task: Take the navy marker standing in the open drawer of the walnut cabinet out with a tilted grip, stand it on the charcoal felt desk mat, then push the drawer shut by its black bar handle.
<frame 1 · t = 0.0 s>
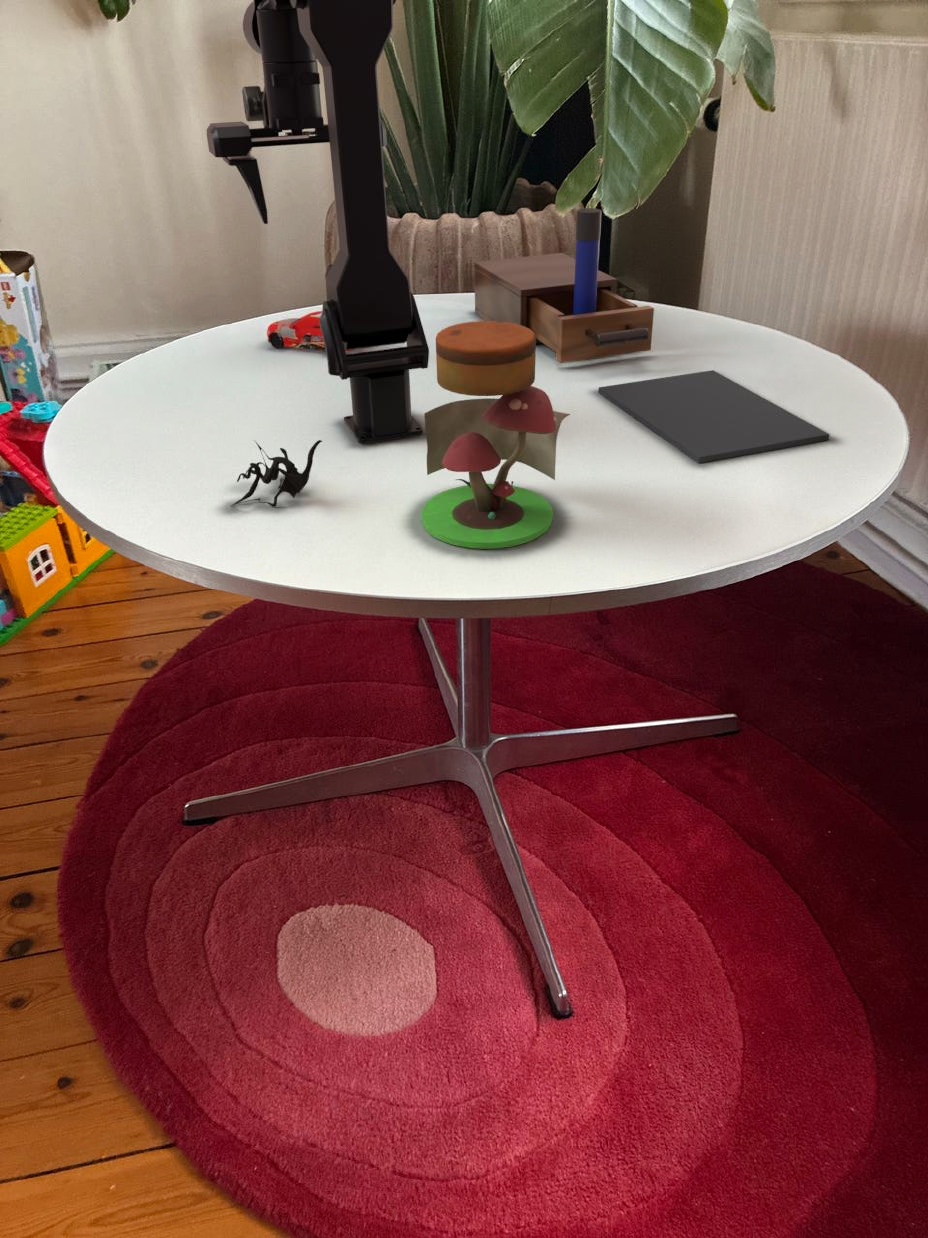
hand: (305, 219, 110), 15 cm above the table, tool pointing down, fingers open, 9 cm apart
creature: (273, 497, 83), on the table
mushroom figurine: (493, 519, 79), on the table
marker: (583, 332, 114), point 2 cm above the table, touching drawer
cabinet: (541, 322, 125), on the table
desk mat: (706, 414, 97), on the table
race car: (317, 348, 119), on the table
drawer: (586, 322, 113), point 3 cm above the table, slide at 9.0 cm, touching marker
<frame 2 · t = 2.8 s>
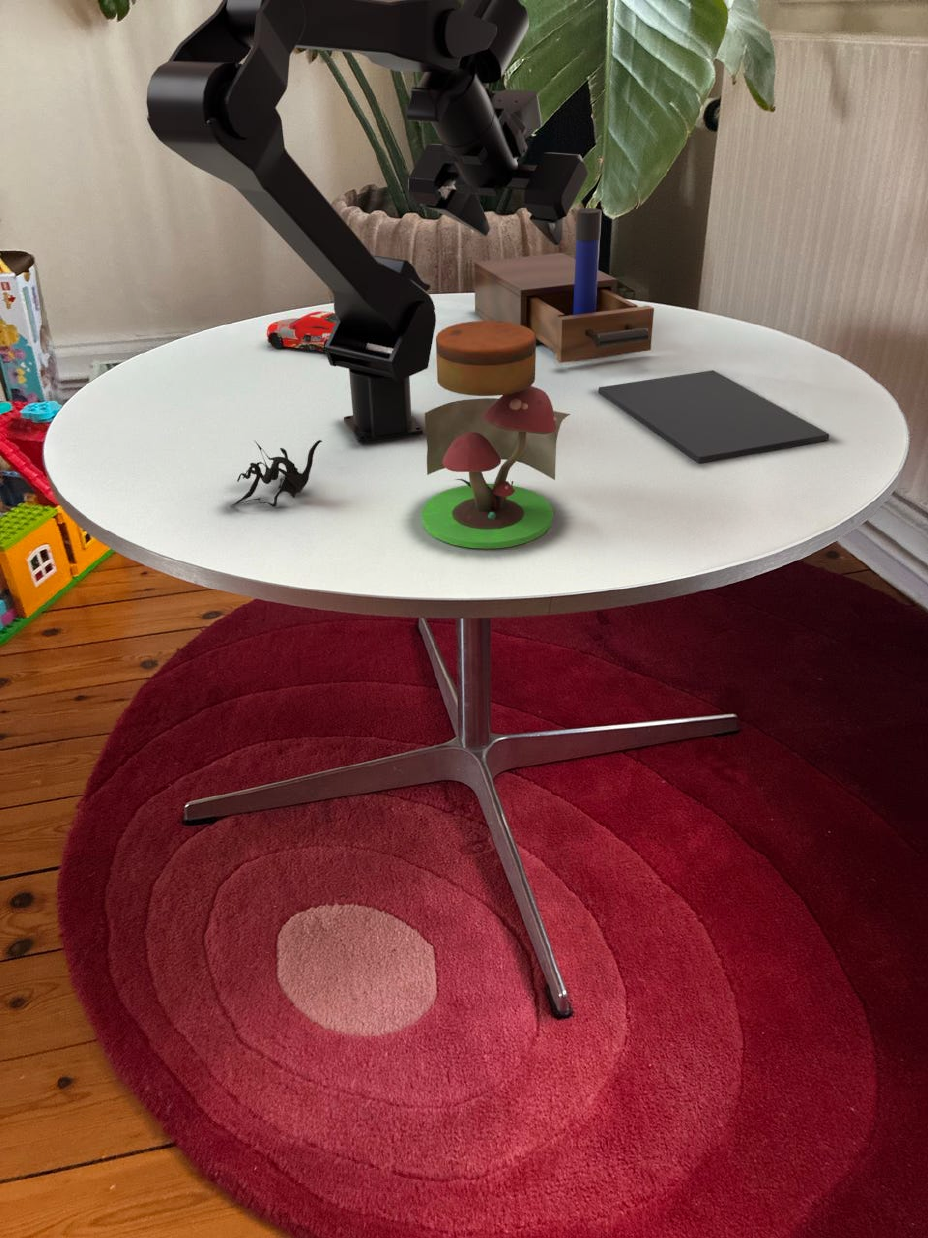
hand: (522, 236, 105), 14 cm above the table, tool tilted 40°, fingers open, 9 cm apart
nothing on the table moved.
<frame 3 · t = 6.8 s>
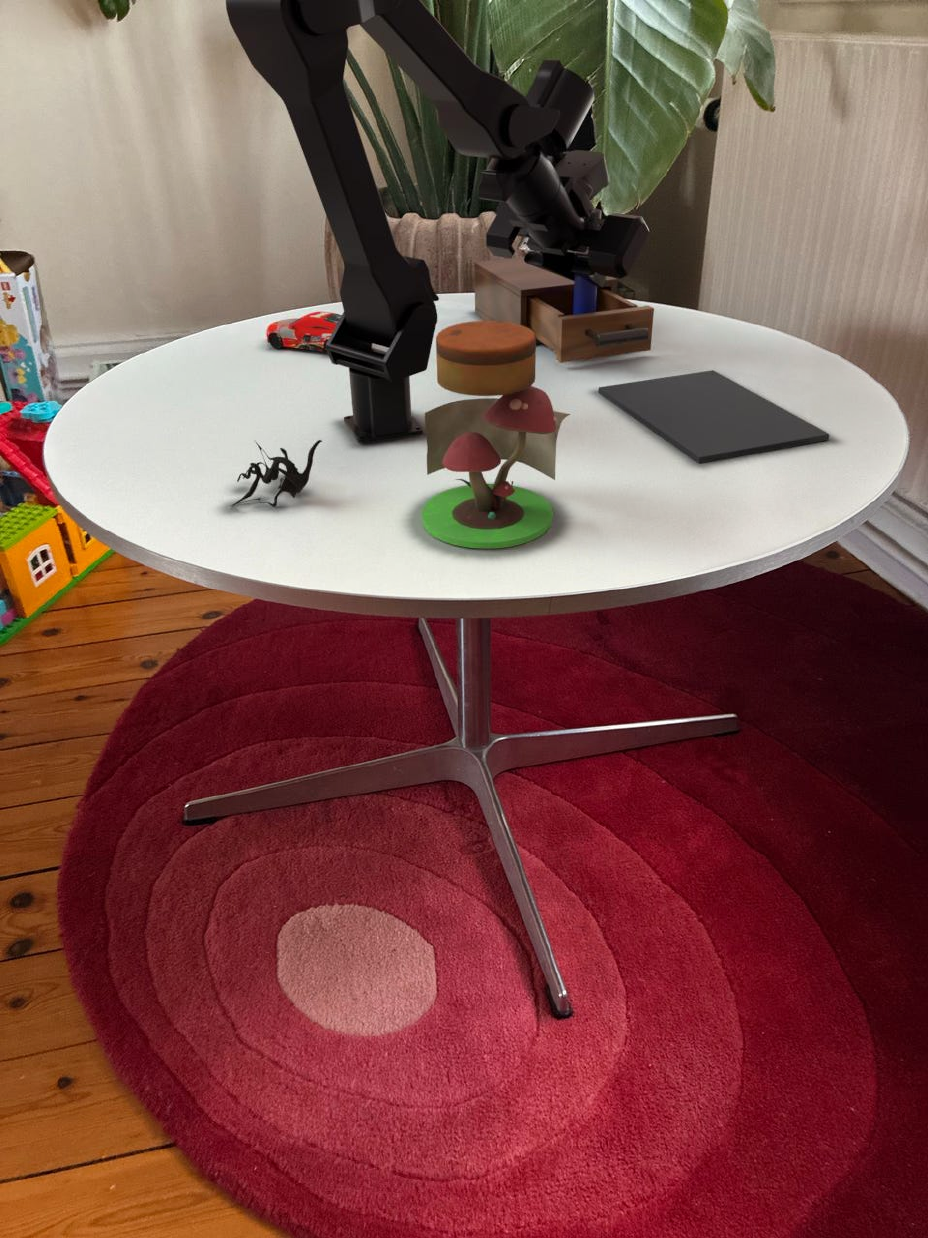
hand: (592, 281, 112), 8 cm above the table, tool tilted 45°, fingers closed on marker, 2 cm apart
marker: (583, 332, 115), point 2 cm above the table, touching drawer, gripper
everything else where it was.
when the fingers open (6 cm above the table, at t = 14.9 s): marker stays where it is, resting on desk mat.
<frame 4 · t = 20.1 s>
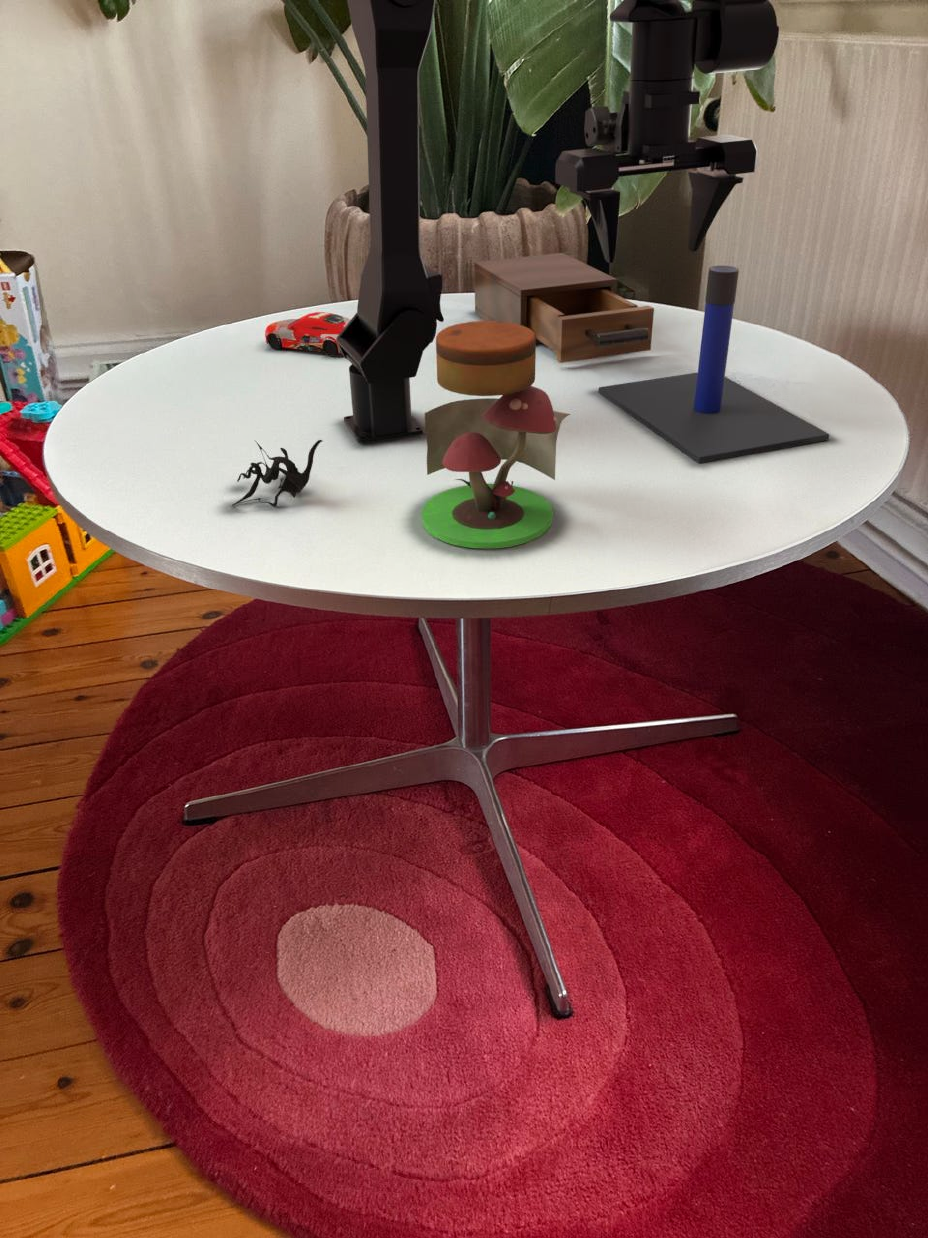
hand: (651, 256, 97), 13 cm above the table, tool pointing down, fingers open, 9 cm apart
marker: (707, 408, 97), point 1 cm above the table, touching desk mat
drawer: (586, 322, 113), point 3 cm above the table, slide at 9.0 cm
everything else where it was.
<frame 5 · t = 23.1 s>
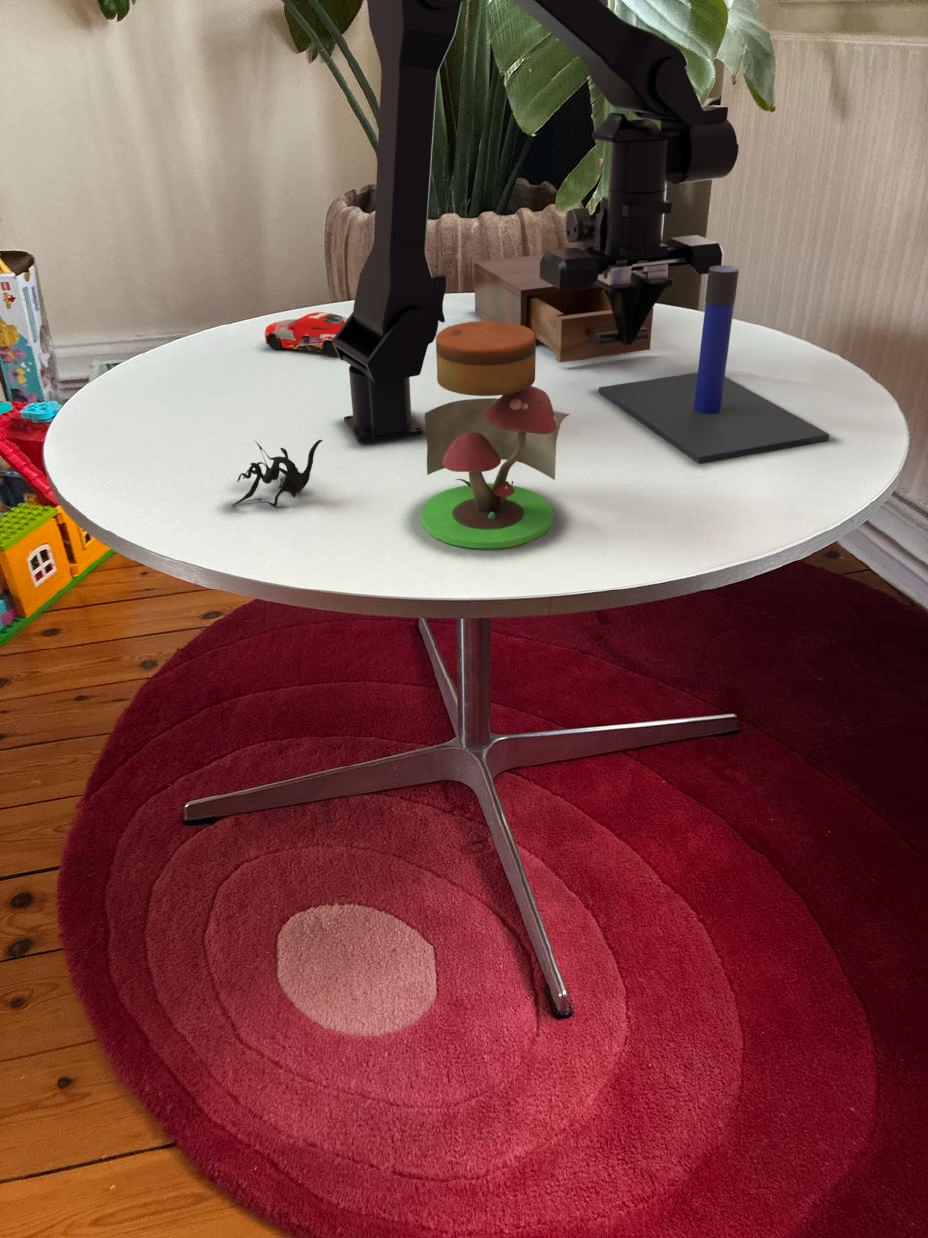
hand: (626, 343, 105), 4 cm above the table, tool pointing down, fingers closed, pressing on drawer
drawer: (586, 322, 113), point 3 cm above the table, slide at 8.8 cm, touching gripper
everything else where it was.
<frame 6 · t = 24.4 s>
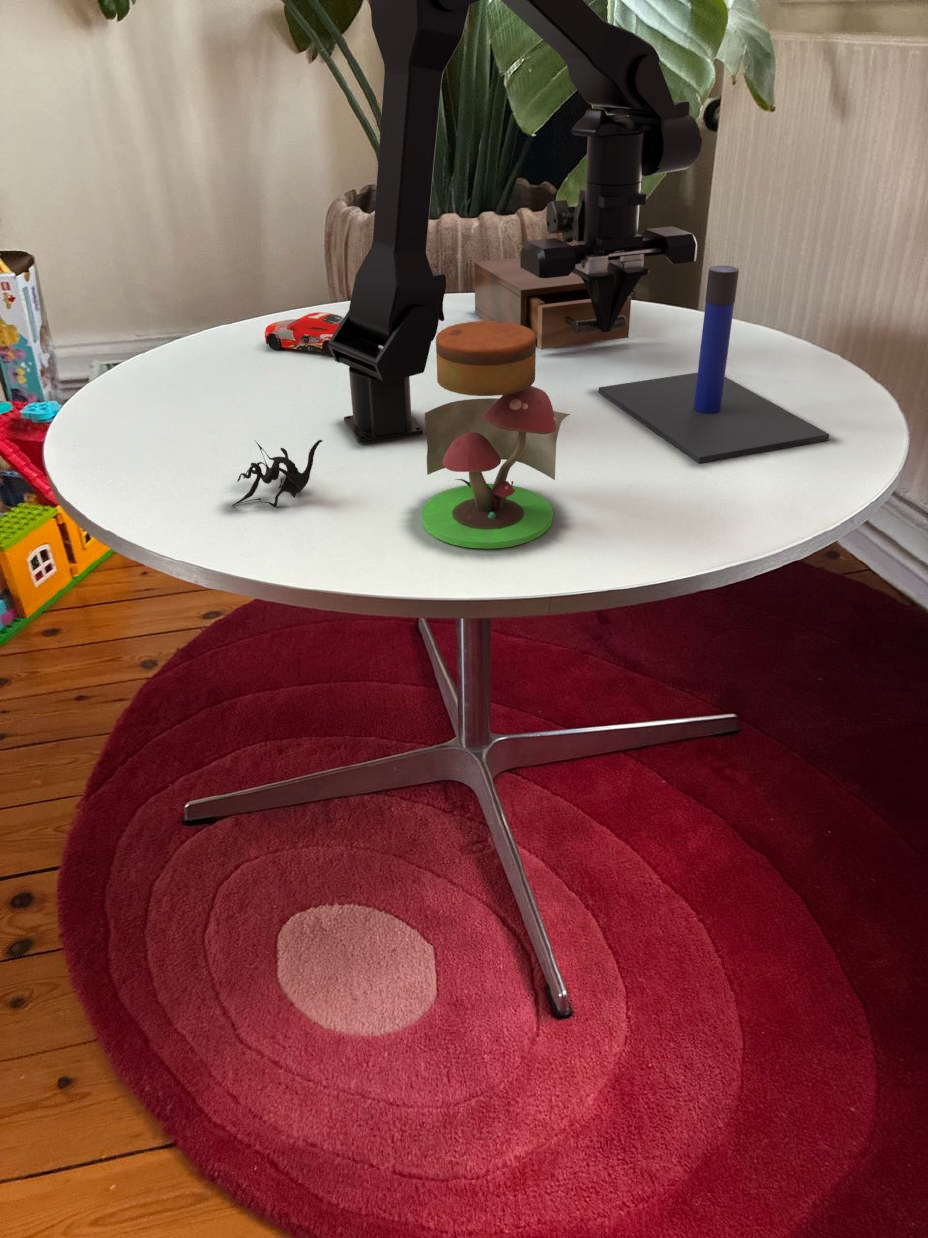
hand: (604, 331, 110), 4 cm above the table, tool pointing down, fingers closed, pressing on drawer
drawer: (567, 311, 117), point 3 cm above the table, slide at 3.7 cm, touching gripper
everything else where it was.
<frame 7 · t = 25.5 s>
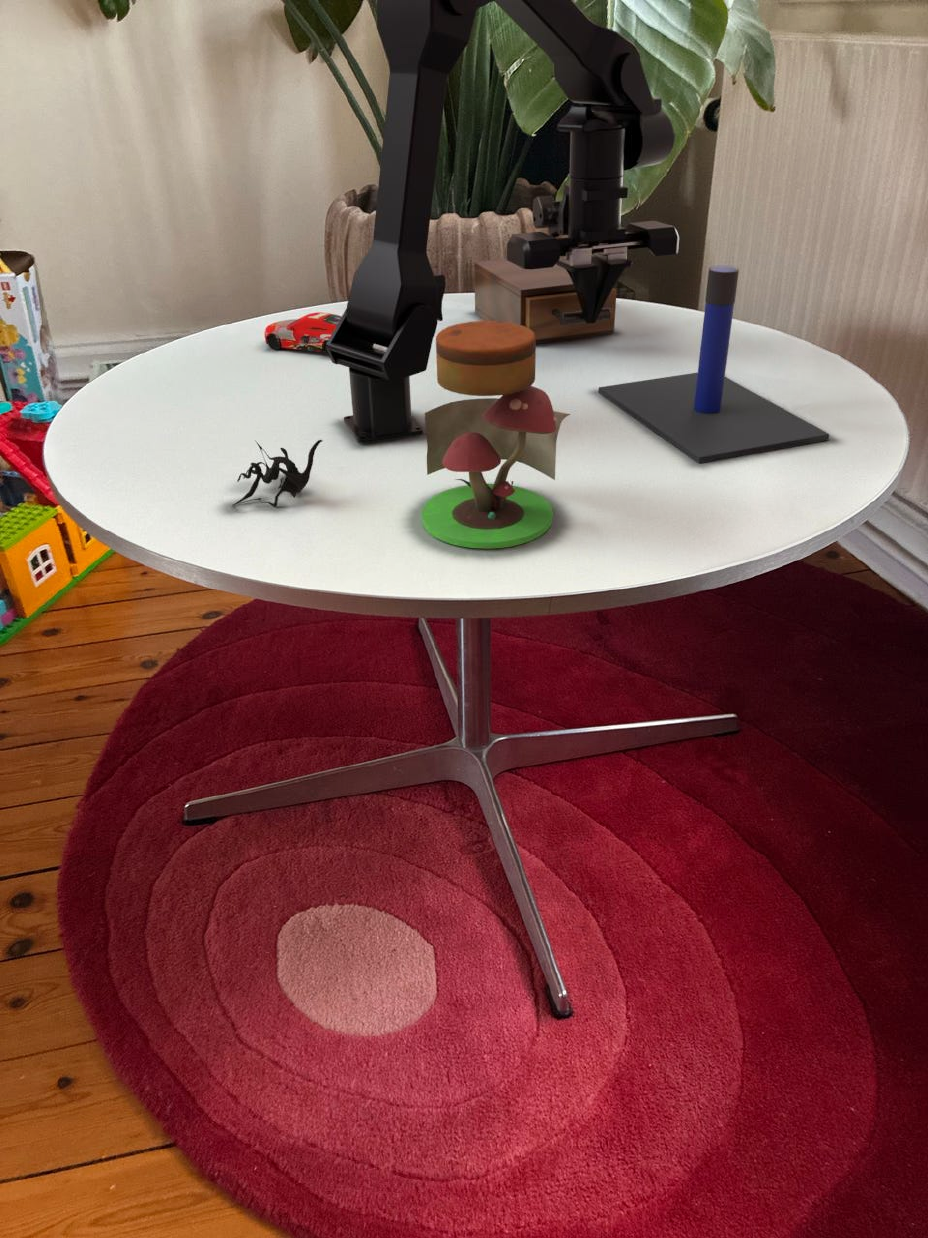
hand: (590, 322, 112), 4 cm above the table, tool pointing down, fingers closed, pressing on drawer
drawer: (554, 304, 120), point 3 cm above the table, slide at 0.0 cm, touching cabinet, gripper
everything else where it was.
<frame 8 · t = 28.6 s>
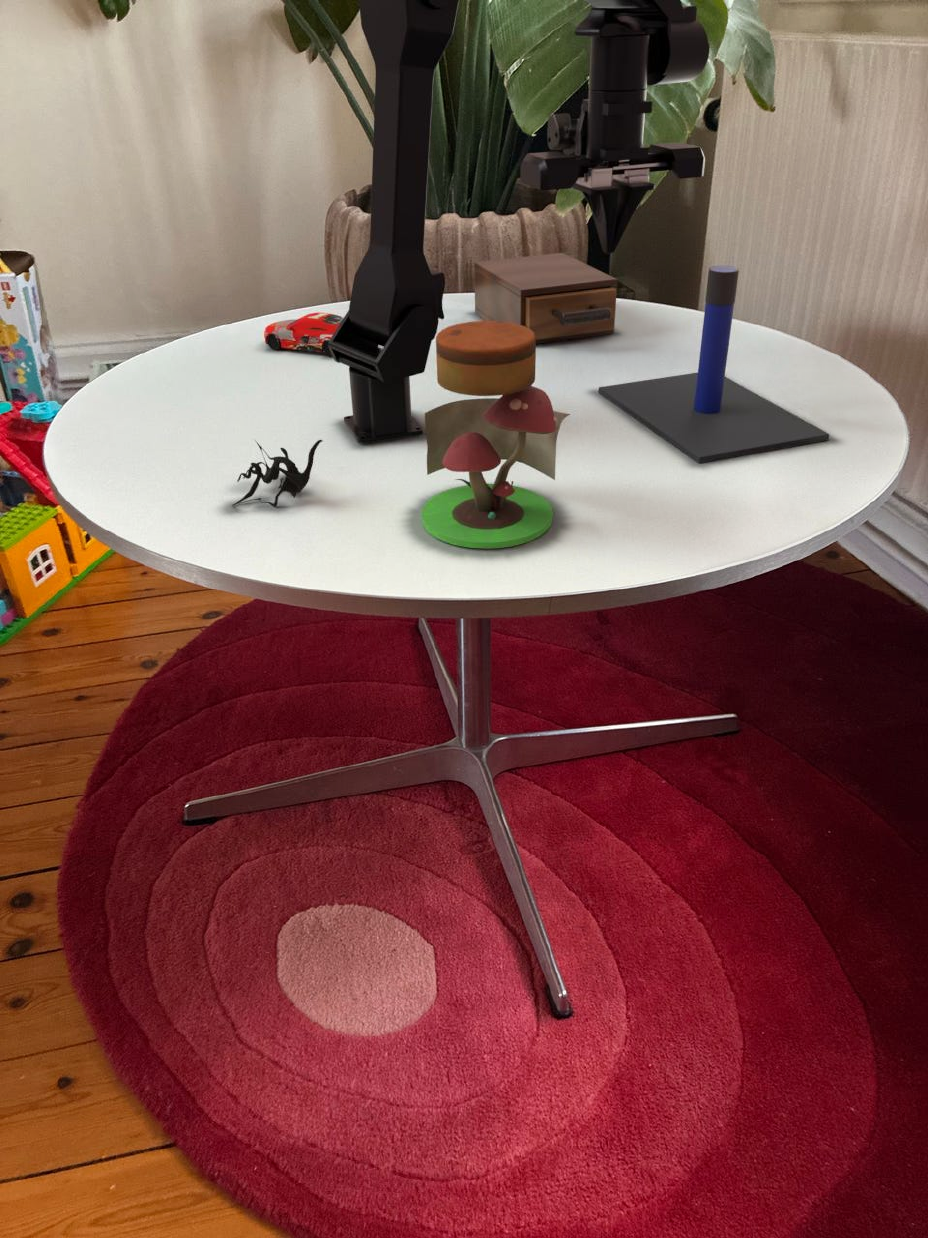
hand: (608, 252, 105), 12 cm above the table, tool pointing down, fingers closed
drawer: (554, 304, 120), point 3 cm above the table, slide at 0.0 cm
everything else where it was.
at the end: marker inside the target area on the desk mat (0.0 cm from its centre), point 0.6 cm above the desk mat's base; marker tilted 0°; drawer slide at 0.0 cm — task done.
